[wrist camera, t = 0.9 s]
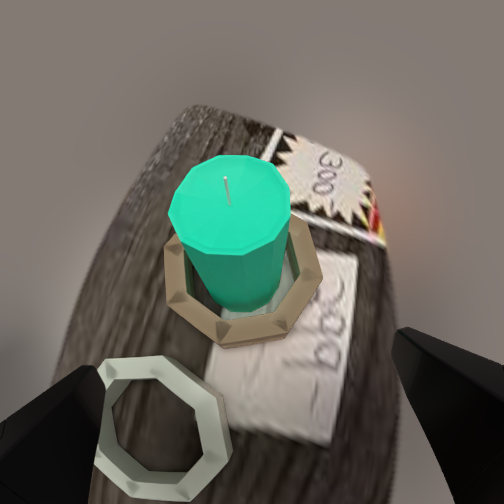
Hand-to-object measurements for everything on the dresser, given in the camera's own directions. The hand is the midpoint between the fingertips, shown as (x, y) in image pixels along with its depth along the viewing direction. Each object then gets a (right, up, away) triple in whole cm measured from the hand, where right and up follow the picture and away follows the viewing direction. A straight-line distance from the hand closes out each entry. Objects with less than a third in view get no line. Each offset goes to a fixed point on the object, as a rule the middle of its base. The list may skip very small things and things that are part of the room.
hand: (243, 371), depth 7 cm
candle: (0, +1, +16) cm, 16 cm away
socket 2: (-1, +1, +15) cm, 15 cm away
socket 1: (-7, -10, +10) cm, 16 cm away
